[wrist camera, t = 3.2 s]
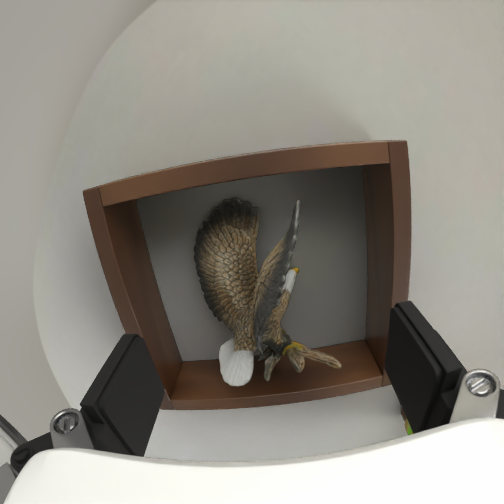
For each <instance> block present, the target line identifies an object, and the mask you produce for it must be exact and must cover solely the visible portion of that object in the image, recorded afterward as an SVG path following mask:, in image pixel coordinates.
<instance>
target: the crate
mask: <svg viewBox="0 0 504 504" xmlns="http://www.w3.org/2000/svg"><path fill="white" fill-rule="evenodd" d="M358 165H362V169H363V179H364V192H365V206H366V225H367V261H368V286H367V322H366V340H360V341H355V342H349V343H344V344H338V345H333V346H327V347H320V348H314V349H310V350H317V351H320V352H323V353H325V354H327V355H331V356H333V357H334V358H335V359H336V360H337V361H339V362H340V363H341V364H342V367H341V368H340V369H336V368H332V367H330V366H328V365H327V364H325V363H322V362H318V361H313V360H307V359H304V363H305V364H304V368H303V370H302V371H301V372H300V373H299V372H296V371H295V369H294V368H293V366H292V364H291V363H290V361H289V359H288V357H287V356H283V355H281V358H280V360H279V361H278V362H277V363H276V364H275V366H274V368H273V369H272V372H271V376H270V380H269V381H266V380H265V378H264V372H265V361H266V359H267V358H269V357H267V358H265V359H263V360H261V361H258V358H259V356H253V357H254V367H253V373H252V377H251V379H250V381H249V382H248V383H246V384H245V385H241V386H230V385H229V384H228V383H226V382H225V381H224V379H223V377H222V374H221V372H220V362H219V359H217V360H202V361H183V362H182V359H181V357H180V354H179V351H178V348H177V345H176V342H175V340H174V337H173V334H172V331H171V328H170V325H169V322H168V318H167V315H166V312H165V309H164V306H163V303H162V299H161V296H160V293H159V289H158V286H157V282H156V279H155V275H154V272H153V268H152V265H151V261H150V257H149V253H148V250H147V246H146V242H145V238H144V234H143V230H142V226H141V221H140V217H139V213H138V208H137V204H136V199H139V198H143V197H148V196H153V195H158V194H162V193H167V192H172V191H177V190H183V189H188V188H193V187H199V186H204V185H210V184H216V183H222V182H228V181H234V180H241V179H247V178H254V177H261V176H268V175H275V174H283V173H291V172H299V171H307V170H316V169H326V168H336V167H347V166H358ZM83 197H84V201H85V205H86V210H87V214H88V218H89V222H90V226H91V230H92V233H93V237H94V241H95V244H96V248H97V251H98V255H99V258H100V261H101V265H102V268H103V271H104V274H105V277H106V280H107V283H108V286H109V289H110V292H111V295H112V298H113V301H114V304H115V306H116V309H117V312H118V314H119V317H120V320H121V322H122V325H123V327H124V330H125V332H126V334H138V335H139V336H140V337H142V338H143V339H144V340H145V343H146V345H147V348H148V350H149V353H150V355H151V358H152V360H153V362H154V365H155V367H156V369H157V372H158V374H159V376H160V378H161V381H162V383H163V385H164V388H165V395H164V398H163V401H162V403H161V406H160V409H162V410H174V409H175V410H214V409H236V408H251V407H263V406H273V405H282V404H290V403H298V402H305V401H312V400H318V399H324V398H330V397H336V396H341V395H346V394H351V393H356V392H361V391H366V390H370V389H374V388H379V387H383V386H387V385H391V382H390V379H389V377H388V375H387V373H386V370H385V356H386V348H387V340H388V331H389V320H390V310H391V308H394V306H395V304H396V303H400V302H405V301H408V293H409V279H410V262H411V188H410V170H409V157H408V147H407V141H406V140H383V141H360V142H344V143H332V144H320V145H310V146H301V147H292V148H283V149H275V150H268V151H261V152H254V153H247V154H241V155H234V156H228V157H223V158H217V159H211V160H206V161H200V162H195V163H190V164H185V165H180V166H176V167H171V168H166V169H162V170H157V171H153V172H149V173H145V174H140V175H136V176H132V177H128V178H124V179H121V180H117V181H113V182H110V183H106V184H103V185H100V186H96V187H93V188H90V189H86V190H84V191H83Z"/></svg>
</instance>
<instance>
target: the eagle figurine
mask: <svg viewBox="0 0 504 504" xmlns="http://www.w3.org/2000/svg"><path fill="white" fill-rule="evenodd" d="M300 207H301V203H300V201H299V200H298V201H297V202H296V205H295V207H294V210H293V215H292V220H291V224H290V227H289V229H288V231H287V233H286V235H285V236H284V238H283V239H282V240H281V241H279V242H278V244H277V245H276V246H275V248H274V249H273V250H272V251H271V252H270V253H269V255H268V256H267V258H266V259H265V261H264V262H263V265H262V268H261V270H260V273H259V274H258V270H257V260H256V240H257V234H258V229H259V222H260V209H259V208H258V207H252V205H251V204H250V202H248V201H245V202H243V203H241V202H240V200H239V199H238V198H232V200H231V201H229V200H227V199H225V200H223V201H222V202H221V204H220V207H219V208H217V207H215V208H213V209H212V211H211V213H210V220H209V221H208V220H204V221H203V228H202V229H199V231H198V234H197V237H196V245H195V246H194V251H195V255H194V260H195V262H196V269H197V274H198V276H199V277H200V280H199V281H200V284H201V288H202V291H203V292H204V298H205V301H206V303H207V304H208V307H209V309H210V310H211V311H212V312H213V315H214V316H215V317H217V319H218V320H219V321H222V322H223V323H224V324H225V325H226V326H229V328H230V330H232V331H234V336H233V337H232V338H231V339H230V340H228V341H227V342H225V343H224V344H223V345H221V347H220V350H219V362H220V372H221V374H222V377H223V379H224V381H225V382H226V383H228V384H229V385H230V386H241V385H245V384H246V383H248V382H249V381H250V379H251V377H252V373H253V367H254V357H253V355H254V352H255V350H256V348H258V350H259V351H260V353H262V354H261V355H260V356H259V358H258V361H261V360H263V359H265V358H267V357H269V358H267V359H266V361H265V372H264V378H265V380H266V381H269V380H270V376H271V372H272V369H273V368H274V366H275V364H276V363H277V362H278V361H279V360H280V358H281V355H283V356H287V357H288V359H289V361H290V363H291V364H292V366H293V368H294V369H295V371H296V372H299V373H300V372H301V371H302V370H303V368H304V364H305V363H304V359H307V360H313V361H318V362H322V363H325V364H327V365H328V366H330V367H332V368H336V369H340V368H341V367H342V364H341V363H340V362H339V361H337V360H336V359H335V358H334V357H333V356H331V355H327V354H325V353H323V352H320V351H317V350H310V349H309V348H307V347H306V346H304V345H302V344H300V343H297V342H294V341H292V340H291V338H290V337H289V336H288V335H287V334H286V332H285V330H284V329H281V328H280V320H281V317H282V316H283V315H284V312H285V310H286V308H287V306H288V303H289V298H290V294H291V291H292V288H293V285H294V283H295V278H296V273H298V272H299V269H298V268H293V269H291V270H289V266H290V263H291V259H292V255H293V250H294V247H295V243H296V238H297V233H298V227H299V226H298V219H299V213H300ZM261 343H263V344H266V345H267V348H266V349H265V351H264V352H263V351H262V347H261Z"/></svg>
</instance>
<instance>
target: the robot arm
mask: <svg viewBox="0 0 504 504" xmlns="http://www.w3.org/2000/svg"><path fill="white" fill-rule="evenodd" d="M385 370H386V373H387V375H388V377H389V379H390V382H391V384H392V386H393V388H394V390H395V393H396V395H397V397H398V399H399V402H400V404H401V406H402V408H403V411H404V413H405V415H406V418H407V420H408V422H409V425H410V427H411V430H412V432H413V434H412V435H408V436H405V437H401V438H397V439H394V440H390V441H386V442H382V443H377V444H373V445H369V446H365V447H360V448H355V449H350V450H345V451H340V452H334V453H328V454H321V455H315V456H307V457H299V458H290V459H279V460H266V461H245V462H202V461H181V460H168V459H157V458H148V457H143V456H144V454H145V451H146V448H147V444H148V441H149V438H150V436H151V433H152V430H153V427H154V424H155V421H156V418H157V415H158V412H159V409H160V406H161V403H162V401H163V398H164V395H165V388H164V385H163V383H162V381H161V378H160V376H159V374H158V372H157V369H156V367H155V365H154V362H153V360H152V358H151V355H150V353H149V350H148V348H147V345H146V343H145V340H144V339H143V338H142V337H140V336H139V335H138V334H124V335H123V336H122V337H121V339H120V340H119V342H118V343H117V345H116V346H115V348H114V350H113V351H112V353H111V354H110V356H109V357H108V359H107V360H106V362H105V364H104V365H103V367H102V368H101V370H100V372H99V373H98V375H97V376H96V378H95V380H94V381H93V383H92V385H91V386H90V388H89V390H88V391H87V393H86V395H85V396H84V398H83V400H82V401H81V403H80V405H81V407H82V408H81V410H80V411H78V410H77V409H73V408H68V409H64V410H62V411H60V412H58V413H57V414H56V415H55V416H54V417H53V419H52V420H51V423H50V432H49V433H46V434H44V435H42V436H40V437H38V438H35V439H33V440H31V441H29V442H26V443H24V444H22V445H20V446H18V445H17V443H16V442H15V441H14V440H13V439H12V438H11V437H10V436H9V435H8V434H7V433H6V432H5V431H4V430H3V429H2V428H1V427H0V504H504V390H502V389H500V381H499V379H498V377H497V376H496V375H495V374H494V373H492V372H491V371H488V370H485V369H474V370H471V371H469V372H467V371H466V369H465V368H464V367H463V365H462V364H461V362H460V361H459V360H458V358H457V357H456V356H455V354H454V353H453V352H452V350H451V349H450V348H449V346H448V345H447V344H446V343H445V341H444V340H443V339H442V337H441V336H440V335H439V334H438V332H437V331H436V330H434V329H433V328H432V326H431V325H430V324H429V323H428V321H427V320H426V319H425V318H424V316H423V315H422V314H421V313H420V312H419V310H418V309H417V308H416V307H415V305H414V304H413V303H412V302H411V301H405V302H400V303H396V304H395V306H394V308H391V310H390V320H389V331H388V340H387V348H386V356H385Z"/></svg>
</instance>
